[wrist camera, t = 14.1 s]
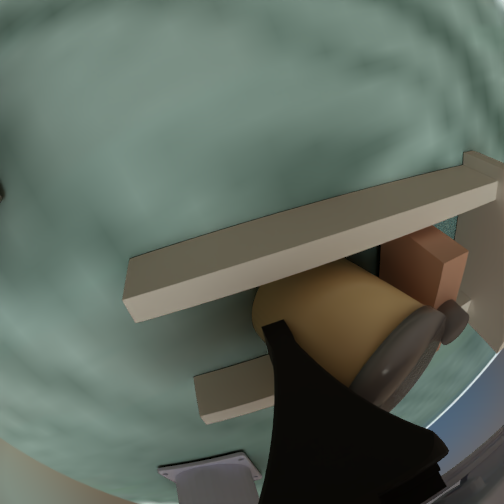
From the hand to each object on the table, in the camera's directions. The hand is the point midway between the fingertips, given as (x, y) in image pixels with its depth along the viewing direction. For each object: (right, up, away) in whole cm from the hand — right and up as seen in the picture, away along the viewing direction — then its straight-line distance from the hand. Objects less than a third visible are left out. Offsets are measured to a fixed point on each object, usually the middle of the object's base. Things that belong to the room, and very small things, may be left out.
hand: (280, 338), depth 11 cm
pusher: (+6, +3, +3) cm, 7 cm away
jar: (+1, +1, +2) cm, 3 cm away
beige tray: (+3, +2, +3) cm, 4 cm away
